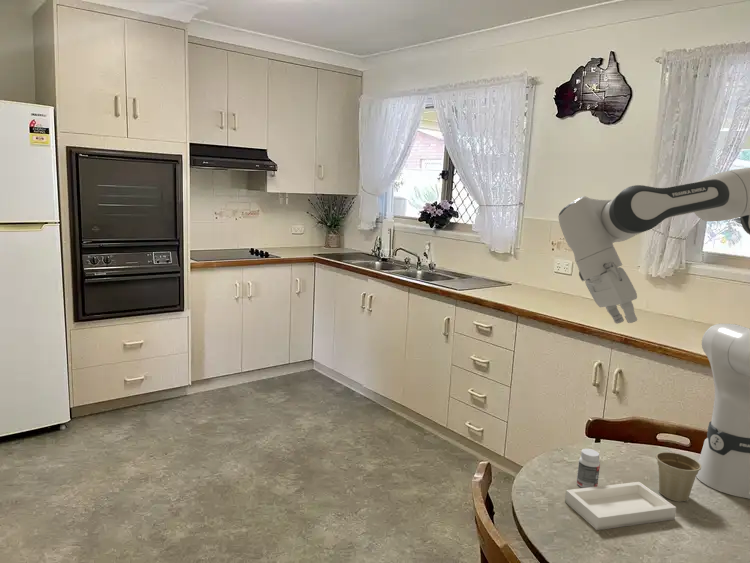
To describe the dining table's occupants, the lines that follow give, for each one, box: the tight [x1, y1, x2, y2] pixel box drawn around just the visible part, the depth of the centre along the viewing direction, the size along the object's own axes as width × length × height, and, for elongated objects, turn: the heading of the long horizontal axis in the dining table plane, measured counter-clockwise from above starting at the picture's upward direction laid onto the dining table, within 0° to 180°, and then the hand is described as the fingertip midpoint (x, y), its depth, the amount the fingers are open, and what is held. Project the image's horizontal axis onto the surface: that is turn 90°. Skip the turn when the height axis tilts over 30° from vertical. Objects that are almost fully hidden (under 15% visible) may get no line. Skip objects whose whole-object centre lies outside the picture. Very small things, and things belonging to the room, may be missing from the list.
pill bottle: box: [576, 448, 601, 488], centre depth 133 cm, size 5×5×8 cm
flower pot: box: [655, 451, 701, 503], centre depth 130 cm, size 9×9×9 cm
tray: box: [564, 481, 677, 531], centre depth 123 cm, size 20×11×3 cm, turn 106°
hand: (626, 322), depth 125 cm, fingers open, 8 cm apart
